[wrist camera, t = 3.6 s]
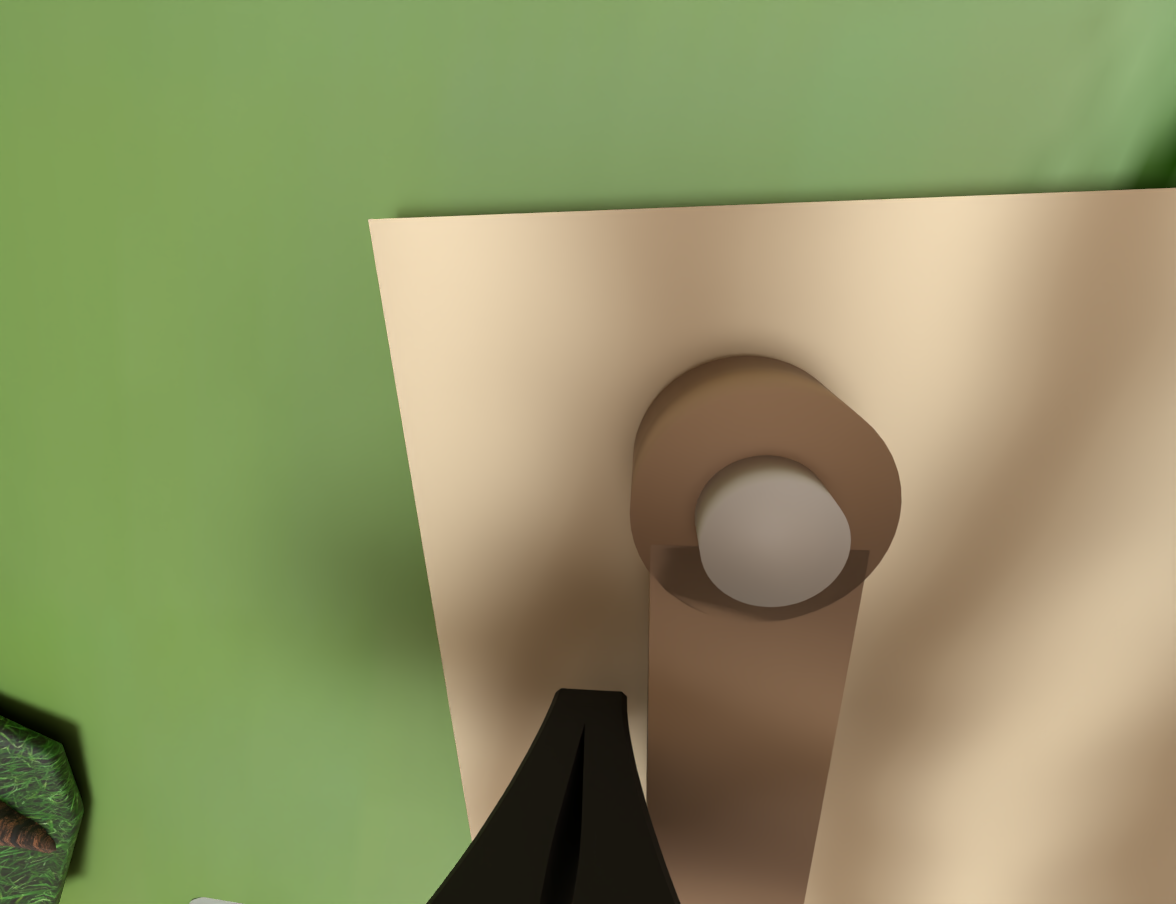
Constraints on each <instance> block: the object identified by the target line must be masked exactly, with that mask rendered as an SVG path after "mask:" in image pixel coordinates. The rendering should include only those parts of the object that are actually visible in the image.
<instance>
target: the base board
mask: <svg viewBox="0 0 1176 904" xmlns="http://www.w3.org/2000/svg"><path fill="white" fill-rule="evenodd" d="M368 221H369V227H370V233H371V239H372V245H373V251H374V257H375V263H376V269H377V275H378V281H379V287H380V293H381V299H382V305H383V311H384V317H385V323H386V329H387V335H388V341H389V347H390V353H391V359H392V365H393V371H394V377H395V383H396V389H397V395H398V401H399V407H400V413H401V419H402V425H403V431H404V437H405V443H406V449H407V455H408V461H409V467H410V473H411V479H412V485H413V491H414V497H415V503H416V509H417V515H418V521H419V527H420V533H421V539H422V545H423V551H424V557H425V563H426V569H427V575H428V581H429V587H430V593H431V599H432V605H433V611H434V617H435V623H436V629H437V635H438V641H439V647H440V653H441V659H442V665H443V671H444V677H445V682H446V688H447V694H448V700H449V706H450V712H451V718H452V724H453V730H454V736H455V742H456V748H457V754H458V760H459V766H460V772H461V778H462V784H463V790H464V796H465V802H466V808H467V814H468V820H469V826H470V832H471V838H472V841H473V840H474V838H475V837H476V835H477V834H478V832H479V831H480V829H481V828H482V826H483V825H484V823H485V821H486V820H487V818H488V817H489V815H490V814H491V812H492V811H493V809H494V807H495V806H496V804H497V803H498V801H499V800H500V798H501V797H502V795H503V793H504V792H505V790H506V788H507V787H508V785H509V783H510V782H511V780H512V778H513V776H514V775H515V773H516V771H517V769H518V768H519V766H520V764H521V762H522V761H523V759H524V757H525V755H526V753H527V752H528V750H529V748H530V746H531V744H532V742H533V740H534V738H535V736H536V735H537V733H538V731H539V729H540V727H541V725H542V723H543V720H544V718H545V716H546V714H547V712H548V709H549V707H550V705H551V703H552V700H553V698H554V695H555V692H557V691H558V690H559V689H560V688H567V689H585V690H604V691H622V692H623V693H624V694H625V695H626V696H627V714H628V724H629V731H630V737H631V742H632V748H633V753H634V758H635V762H636V766H637V770H638V774H639V778H640V782H641V786H642V789H643V793H644V797H645V800H646V770H647V686H648V603H649V571H648V570H647V568H646V567H645V565H644V563H643V561H642V560H641V558H640V556H639V554H638V551H637V549H636V546H635V543H634V540H633V536H632V531H631V524H630V500H631V483H632V467H633V451H634V443H635V439H636V434H637V431H638V429H639V426H640V423H641V421H642V419H643V417H644V415H645V413H646V411H647V409H648V408H649V407H650V405H651V404H652V402H653V401H654V400H655V398H656V397H657V396H658V395H659V394H660V393H661V392H662V391H663V390H664V389H665V388H666V387H667V386H668V385H669V384H670V383H672V382H673V381H674V380H675V379H677V378H678V377H680V376H681V375H683V374H684V373H686V372H688V371H689V370H691V369H693V368H696V367H698V366H700V365H702V364H705V363H708V362H711V361H714V360H717V359H722V358H727V357H733V356H762V357H768V358H773V359H778V360H781V361H784V362H787V363H790V364H792V365H794V366H796V367H798V368H800V369H802V370H804V371H805V372H807V373H808V374H810V375H811V376H813V377H814V378H816V379H817V380H818V381H819V382H820V383H822V384H823V385H824V386H825V387H826V388H827V389H829V390H830V391H831V392H832V393H833V394H835V395H836V396H837V397H838V398H839V399H840V400H842V401H843V402H844V403H845V404H846V405H848V406H849V407H850V408H851V409H852V410H854V411H855V412H856V413H857V414H858V415H859V416H861V417H862V418H863V419H864V420H865V421H866V422H867V423H868V424H869V425H870V426H872V427H873V428H874V429H875V431H876V432H877V433H878V434H879V436H880V437H881V438H882V439H883V441H884V442H885V444H886V446H887V447H888V449H889V451H890V453H891V454H892V456H893V459H894V462H895V464H896V467H897V470H898V473H899V478H900V484H901V498H902V504H901V512H900V519H899V523H898V526H897V530H896V533H895V536H894V538H893V540H892V543H891V545H890V547H889V549H888V551H887V552H886V554H885V556H884V557H883V559H882V560H881V562H880V563H879V564H878V566H877V567H876V568H875V569H874V571H873V572H872V573H871V574H870V575H869V576H868V577H867V578H866V579H865V580H864V585H863V591H862V596H861V602H860V607H859V612H858V618H857V623H856V628H855V634H854V639H853V644H852V650H851V655H850V660H849V666H848V671H847V676H846V682H845V687H844V692H843V698H842V703H841V708H840V714H839V719H838V724H837V730H836V735H835V740H834V746H833V751H832V756H831V762H830V767H829V773H828V778H827V783H826V789H825V794H824V799H823V805H822V810H821V815H820V821H819V826H818V831H817V837H816V842H815V847H814V853H813V858H812V863H811V869H810V874H809V879H808V885H807V890H806V895H805V901H804V904H1176V188H1161V189H1135V190H1110V191H1084V192H1058V193H1033V194H1007V195H982V196H956V197H930V198H905V199H879V200H853V201H828V202H802V203H777V204H751V205H725V206H700V207H674V208H648V209H623V210H597V211H572V212H546V213H520V214H495V215H469V216H444V217H418V218H392V219H368Z"/></svg>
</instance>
